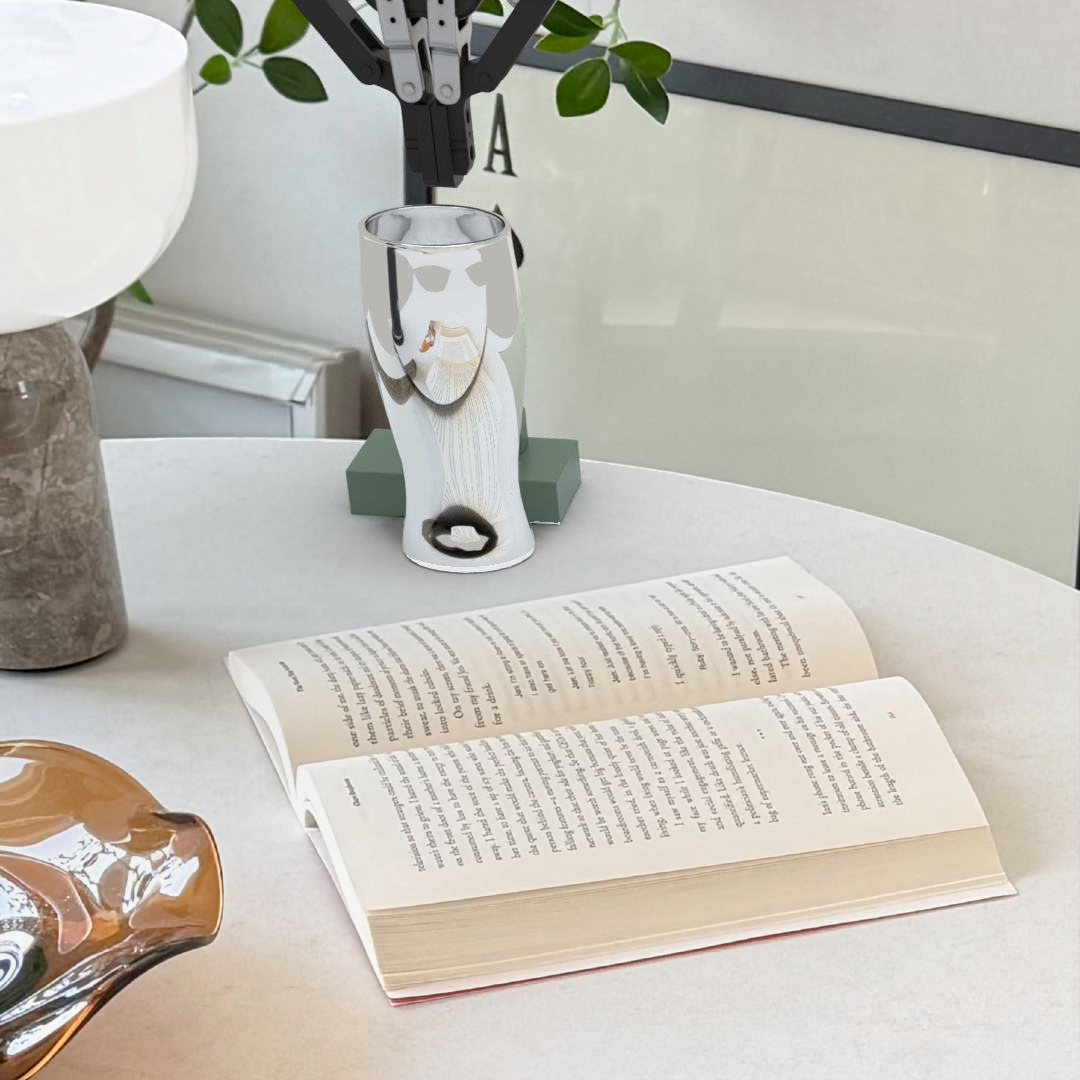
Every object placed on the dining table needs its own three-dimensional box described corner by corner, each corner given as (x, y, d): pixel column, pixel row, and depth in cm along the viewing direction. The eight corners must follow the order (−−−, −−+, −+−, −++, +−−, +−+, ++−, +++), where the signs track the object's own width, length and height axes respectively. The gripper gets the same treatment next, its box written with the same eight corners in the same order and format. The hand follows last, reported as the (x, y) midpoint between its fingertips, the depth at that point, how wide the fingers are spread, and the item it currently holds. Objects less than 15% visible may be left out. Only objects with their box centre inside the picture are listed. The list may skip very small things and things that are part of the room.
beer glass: (409, 585, 128) (368, 251, 119) (380, 530, 133) (339, 206, 124) (560, 569, 131) (531, 242, 122) (526, 516, 136) (496, 198, 127)
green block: (350, 514, 134) (339, 433, 132) (384, 463, 140) (374, 384, 138) (560, 526, 135) (553, 445, 133) (585, 474, 141) (578, 396, 138)
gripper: (215, -233, 116) (279, 197, 126) (536, -213, 117) (573, 214, 127) (263, -259, 122) (321, 154, 132) (568, -239, 123) (602, 170, 133)
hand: (445, 182), depth 130 cm, fingers closed
